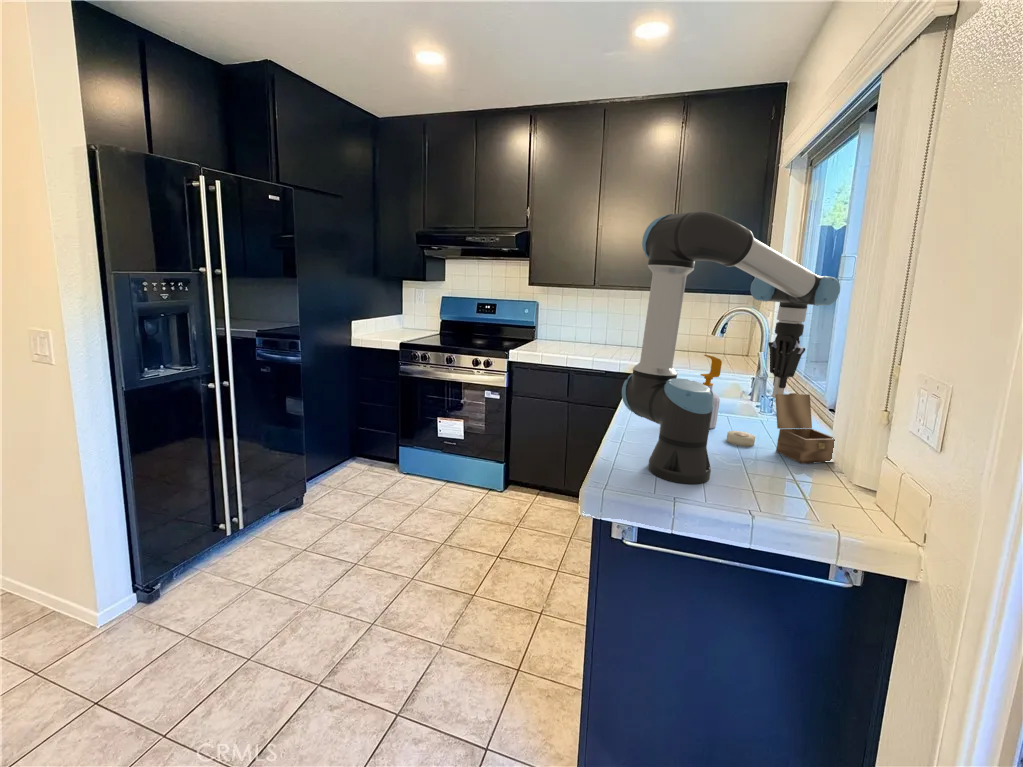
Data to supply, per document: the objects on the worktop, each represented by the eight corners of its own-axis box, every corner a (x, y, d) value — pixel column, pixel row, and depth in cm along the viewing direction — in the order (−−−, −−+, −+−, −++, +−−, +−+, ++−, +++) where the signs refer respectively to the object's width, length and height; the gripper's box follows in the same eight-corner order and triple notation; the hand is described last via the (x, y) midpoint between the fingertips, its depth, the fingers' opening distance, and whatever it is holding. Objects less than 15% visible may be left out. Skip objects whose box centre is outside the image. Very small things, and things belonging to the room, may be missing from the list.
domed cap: (736, 446, 152) (738, 438, 151) (721, 438, 159) (722, 430, 159) (759, 446, 153) (761, 438, 153) (743, 438, 161) (744, 430, 160)
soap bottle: (682, 422, 175) (691, 353, 170) (702, 420, 179) (712, 352, 174) (701, 429, 167) (711, 357, 162) (721, 428, 171) (732, 357, 165)
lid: (778, 393, 148) (775, 393, 149) (780, 428, 147) (777, 428, 149) (810, 393, 151) (807, 393, 152) (813, 428, 150) (809, 428, 151)
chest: (801, 463, 140) (806, 440, 138) (775, 451, 149) (779, 428, 148) (834, 462, 142) (839, 439, 140) (807, 450, 152) (811, 428, 150)
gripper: (817, 324, 146) (803, 402, 151) (785, 320, 158) (772, 392, 163) (796, 323, 144) (782, 402, 149) (764, 319, 157) (752, 392, 162)
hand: (777, 397), depth 156 cm, fingers closed
